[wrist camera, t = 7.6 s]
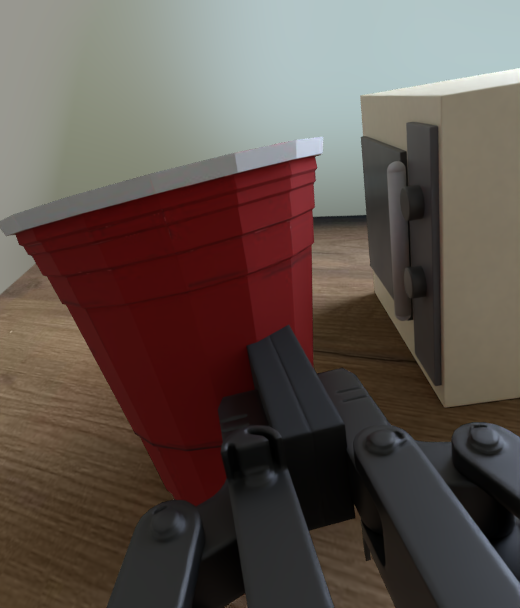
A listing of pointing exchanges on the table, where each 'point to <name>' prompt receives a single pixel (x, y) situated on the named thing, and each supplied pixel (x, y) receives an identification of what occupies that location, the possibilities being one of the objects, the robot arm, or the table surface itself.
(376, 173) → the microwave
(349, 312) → the table surface
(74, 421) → the table surface
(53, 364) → the table surface
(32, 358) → the table surface
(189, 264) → the plastic cup
